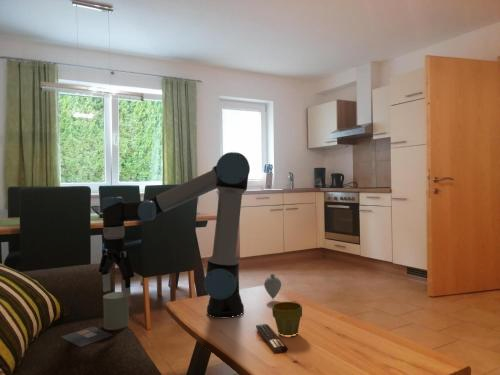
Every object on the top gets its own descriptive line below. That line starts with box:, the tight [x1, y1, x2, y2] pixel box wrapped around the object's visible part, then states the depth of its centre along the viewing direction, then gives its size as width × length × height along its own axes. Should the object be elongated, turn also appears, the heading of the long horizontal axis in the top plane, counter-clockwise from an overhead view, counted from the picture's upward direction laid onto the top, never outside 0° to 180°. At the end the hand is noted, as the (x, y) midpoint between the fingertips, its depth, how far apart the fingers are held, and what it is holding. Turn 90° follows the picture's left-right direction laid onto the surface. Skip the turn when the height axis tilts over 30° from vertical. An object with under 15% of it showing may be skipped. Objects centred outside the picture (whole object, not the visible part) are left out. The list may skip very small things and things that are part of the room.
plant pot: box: [271, 301, 303, 335], centre depth 130 cm, size 10×10×10 cm
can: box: [102, 291, 130, 331], centre depth 142 cm, size 9×9×12 cm
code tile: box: [60, 326, 114, 348], centre depth 132 cm, size 14×12×1 cm
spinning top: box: [264, 272, 282, 299], centre depth 168 cm, size 8×8×12 cm
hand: (116, 293), depth 142 cm, fingers open, 13 cm apart
